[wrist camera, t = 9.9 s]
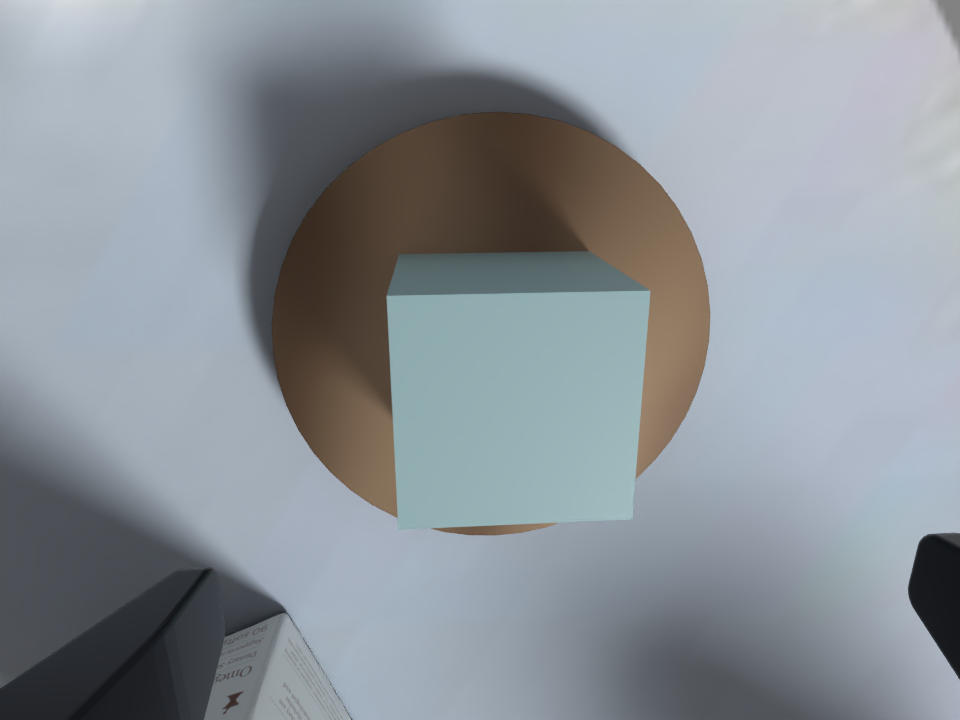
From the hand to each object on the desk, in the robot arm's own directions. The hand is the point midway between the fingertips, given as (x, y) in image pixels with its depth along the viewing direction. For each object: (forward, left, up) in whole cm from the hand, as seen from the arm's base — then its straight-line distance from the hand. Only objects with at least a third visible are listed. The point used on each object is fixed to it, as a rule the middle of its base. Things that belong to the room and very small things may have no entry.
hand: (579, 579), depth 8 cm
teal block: (0, 0, -10) cm, 10 cm away
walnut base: (0, 0, -12) cm, 12 cm away
